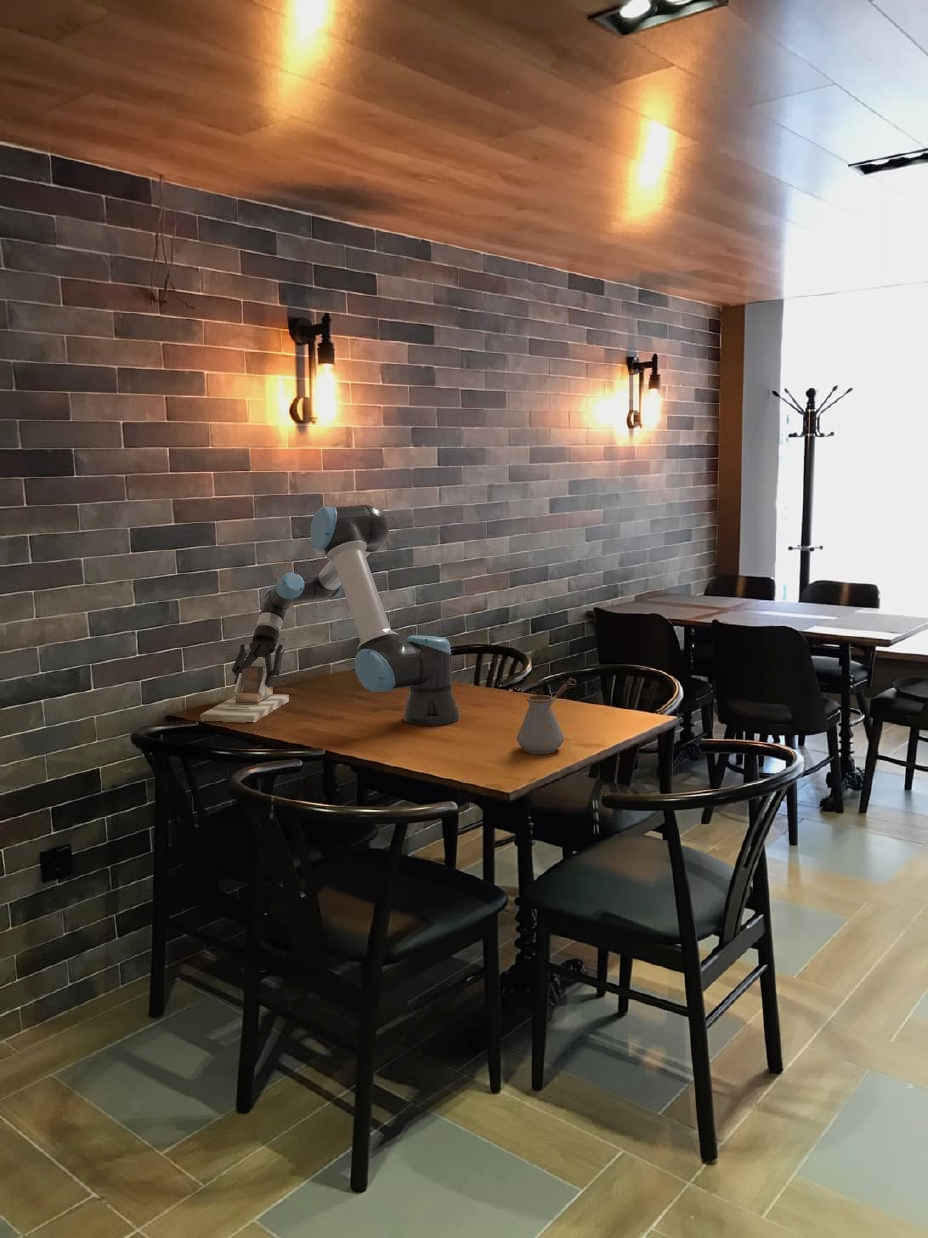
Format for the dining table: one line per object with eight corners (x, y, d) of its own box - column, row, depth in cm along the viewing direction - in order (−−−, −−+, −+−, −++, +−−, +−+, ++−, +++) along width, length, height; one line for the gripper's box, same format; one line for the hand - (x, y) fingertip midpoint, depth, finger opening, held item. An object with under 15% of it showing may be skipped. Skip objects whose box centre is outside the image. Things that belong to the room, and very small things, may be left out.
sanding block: (251, 694, 298) (249, 664, 296) (272, 695, 296) (271, 664, 295) (235, 703, 287) (233, 671, 286) (258, 703, 286) (256, 671, 284)
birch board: (240, 700, 300) (239, 693, 300) (289, 701, 297) (288, 694, 296) (200, 721, 275) (200, 714, 275) (253, 722, 272) (253, 715, 271)
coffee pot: (547, 759, 228) (546, 696, 226) (507, 752, 235) (506, 691, 233) (593, 738, 245) (593, 679, 243) (554, 732, 252) (553, 675, 250)
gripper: (301, 638, 302) (284, 701, 289) (241, 637, 306) (222, 700, 293) (294, 623, 296) (276, 688, 283) (233, 623, 300) (212, 687, 287)
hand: (248, 694), depth 288 cm, fingers closed on sanding block, 7 cm apart
